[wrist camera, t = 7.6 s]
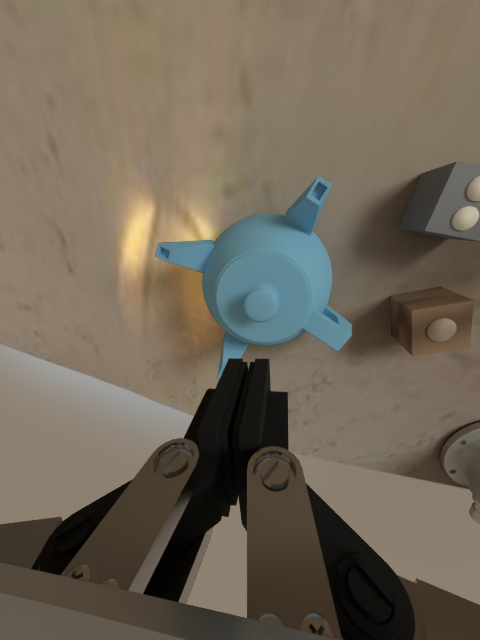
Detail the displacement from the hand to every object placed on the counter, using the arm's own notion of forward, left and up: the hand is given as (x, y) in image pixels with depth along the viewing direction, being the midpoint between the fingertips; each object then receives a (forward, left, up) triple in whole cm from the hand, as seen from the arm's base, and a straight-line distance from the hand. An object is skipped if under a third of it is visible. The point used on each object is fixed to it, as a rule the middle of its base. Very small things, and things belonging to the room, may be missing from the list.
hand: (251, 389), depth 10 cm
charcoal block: (+6, -16, -20) cm, 27 cm away
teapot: (0, +1, -21) cm, 21 cm away
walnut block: (-5, -16, -20) cm, 27 cm away
